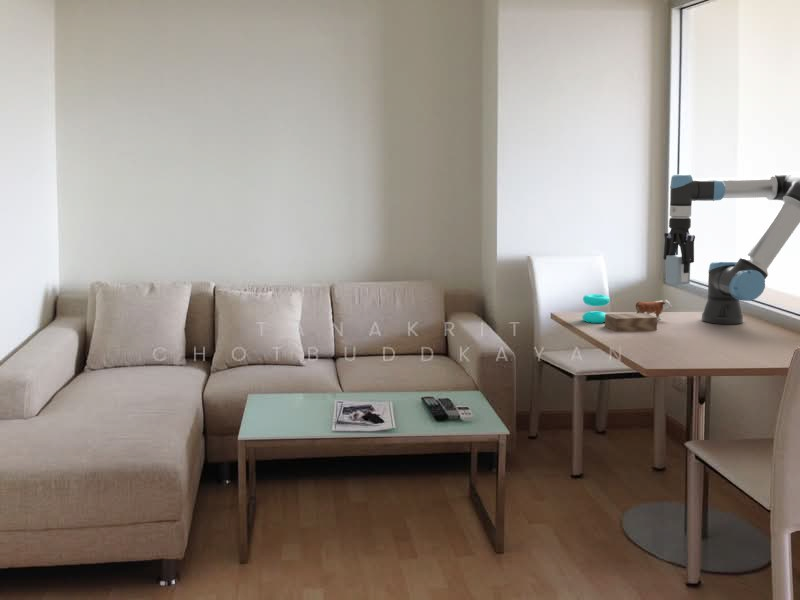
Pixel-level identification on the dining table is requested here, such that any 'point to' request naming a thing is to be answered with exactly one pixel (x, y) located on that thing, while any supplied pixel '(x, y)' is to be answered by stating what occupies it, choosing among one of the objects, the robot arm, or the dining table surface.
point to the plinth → (630, 322)
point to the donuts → (595, 301)
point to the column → (675, 270)
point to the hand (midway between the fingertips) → (677, 280)
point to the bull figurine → (653, 307)
